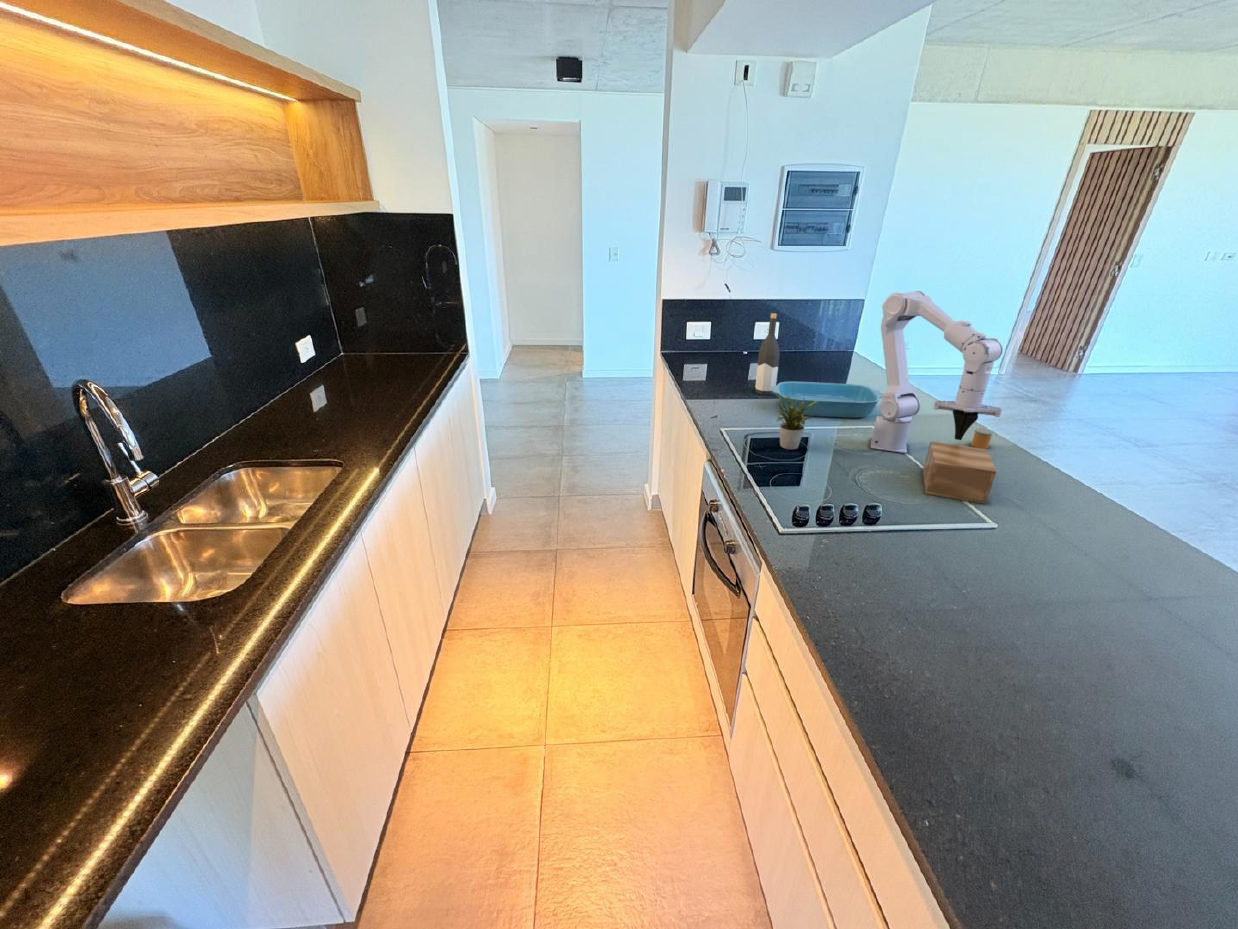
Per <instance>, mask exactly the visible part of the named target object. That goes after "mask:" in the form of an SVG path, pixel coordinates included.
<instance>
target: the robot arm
mask: <svg viewBox="0 0 1238 929" xmlns="http://www.w3.org/2000/svg"><path fill="white" fill-rule="evenodd" d="M881 309H882V319H881V323H880V332H881V342H882V348H883V358H884V366H885V374H886V375H885V376H886V384H887V387H886V388H885V390H884V392H882V398H881V403H880V407H879V410H880V414H881V416H880V415H877V416H876V417H875V422H874V425H873V430H872V433H871V436H870V449H875V450H881V451H888V452H894V453H900V454H907V452H908V450H907V448H908V447H907V441H908V436H909V432H910V428H911V424H912V421H913V419H914V417H915V416H916V415H917V414H919V413H920V410H921V409H922V408H921V406H922V403H921V401H920V398H919V397H918V394H917V389H916V388H915V387H913V386H912V385H911V383H910V378H909V377H910V376H909V369H908V360H907V351H906V350H907V349H906V342H905V341H906V340H905V334H904V328H906V327H907V325H908V324H909V323H910V322H911V321H912V320H914V319H915V318H917V317H921V318H923V319H924V320H926V321H927V322H929V323H930V325H933V326H934V327H936V328H937V329H939V330H940V331H941V332H943V339H944V340H945V341H946V342H947V343H948V344H950V345H951V346H953V347H954V348H955V349H956V350H957V351H959V352H960V353H961V354H962V358H963V361H964V365H963V371H962V375H961V378H960V381H959V386H958V390H957V392H956V396H955V400H936V399H934V402H933V406H932V408H933V410H936V411H937V410H938V411H939V410H943V411H951V412H952V416H953V421H954V439H955V440H958V441H962V439H963V437H964V436H965V434H966V433H967V431H968V430H969V429H970V427H971V426H972V425H973V424H974V423H975V422H976V421H977V420H978V418H979V415H985V416H993V417H996V418H1001V414H1002V410H1003V409H1002V408H1001V407H999V406H992V405H987V404H983V400H984V397H985V394H986V390H987V388H988V384H989V380H990V377H991V374H992V371H993V367H994V363H995V362H996V361H998V360H999V359H1000V358H1001V356H1002V355H1003V350H1004V349H1003V345H1002V343H1001V342H1000V341H999V340H998V339H997V338H995V337H989V338H987V335H986V334H985V333H983V332H982V333H981V332H979V331H978V330H977V329H975V328H974V327H973V326H972V323H971V321H969V320H955V319H953V318H952V317H951V316H950V315H949V314H948V313H947V312H945V310H943V309H942V308H941V307H940V306H938V305H937V303H935V302H934V301H933V300H932V298H931V296H929V295H926V293H925V292H923V291H921V290H915V291H909V292H893V293H891V294H890V295H888V296H887V297H886V299H884V302H883V303H882V304H881Z"/></svg>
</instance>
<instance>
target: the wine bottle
mask: <svg viewBox="0 0 1238 929" xmlns="http://www.w3.org/2000/svg"><path fill="white" fill-rule="evenodd" d="M777 315H778V314H777V313H774V312H773V313H770V317H769V324H768V332H767V335H766V337H765V338H764V340H763V342H762V343H761V345H760V347H759V351H758V356H757V357H758V359H757V366H756V367H757V368H756V376H755V384H754V385H755V386H754V391H755V394H759V395H764V396H770V395H774V394H773V392H772V387H774V386H776V385H777V380H778V372H779V363H780V358H781V357H780V356H781V354H780V353H781V352H780V346H779V343H778V340H777V337H776V327H777V320H778V318H777ZM755 388H756V389H755Z"/></svg>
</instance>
